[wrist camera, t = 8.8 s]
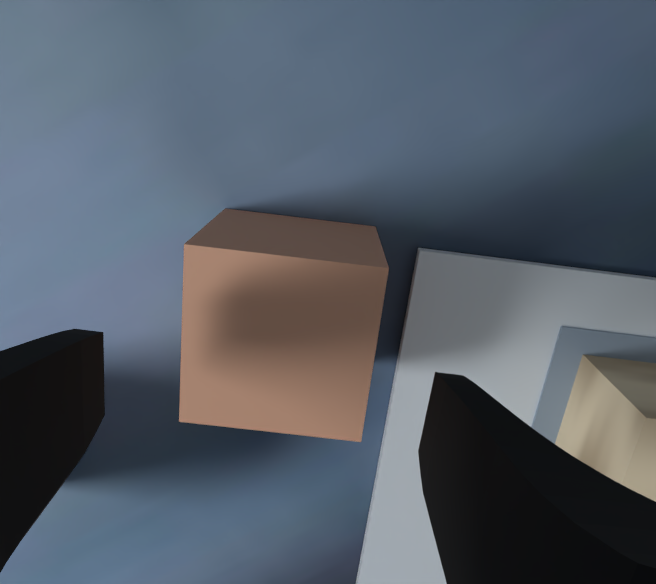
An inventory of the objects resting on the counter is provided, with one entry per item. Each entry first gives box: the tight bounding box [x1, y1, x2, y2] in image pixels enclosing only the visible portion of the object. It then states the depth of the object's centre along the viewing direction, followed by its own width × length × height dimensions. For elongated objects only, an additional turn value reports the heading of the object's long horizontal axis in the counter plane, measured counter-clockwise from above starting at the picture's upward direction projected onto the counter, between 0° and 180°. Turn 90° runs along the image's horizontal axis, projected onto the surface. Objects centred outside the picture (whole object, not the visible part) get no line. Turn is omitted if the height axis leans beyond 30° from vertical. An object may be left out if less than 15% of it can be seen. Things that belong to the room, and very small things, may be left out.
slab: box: [555, 355, 656, 502], centre depth 18 cm, size 10×6×4 cm, turn 173°
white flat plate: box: [356, 248, 656, 584], centre depth 20 cm, size 16×18×1 cm
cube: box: [179, 209, 389, 442], centre depth 16 cm, size 5×5×5 cm
